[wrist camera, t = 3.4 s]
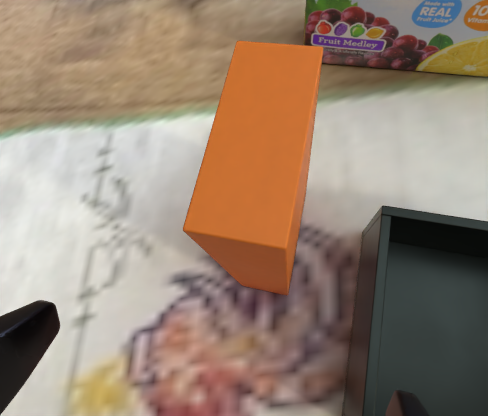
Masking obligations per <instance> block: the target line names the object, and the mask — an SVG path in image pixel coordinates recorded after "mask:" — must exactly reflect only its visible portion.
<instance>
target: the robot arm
mask: <svg viewBox="0 0 488 416" xmlns="http://www.w3.org/2000/svg"><path fill="white" fill-rule="evenodd" d="M59 329H60V321H59V317H58V313H57V309H56V306H55V304H54V303H52V302H48V301H44V300H39V301H36V302H33V303H31V304H28V305H26V306H24V307H21V308H19V309H17V310H14V311H12V312H10V313H7V314H5V315H2V316H0V415H1V413H2V412H3V411H4V410H5V408H6V407H7V406H8V405H9V403H10V402H11V401H12V399H13V398H14V397H15V396H16V394H17V393H18V392H19V390H20V389H21V388H22V386H23V385H24V384H25V382H26V381H27V379H28V378H29V376H30V375H31V373H32V372H33V370H34V369H35V367H36V366H37V364H38V363H39V361H40V360H41V358H42V357H43V355H44V354H45V352H46V350H47V349H48V347H49V346H50V344H51V343H52V341H53V340H54V338H55V337H56V335H57V334H58V332H59ZM385 416H430V415H429V414H428V412H427V411H426V409H425V408H424V406H423V405H422V403H421V402H420V400H419V399H418V397H417V396H416V395H414V394H413V393H410V392H406V391H402V390H396V391H394V393H393V395H392V398H391V400H390V403H389V405H388V408H387V410H386V414H385Z"/></svg>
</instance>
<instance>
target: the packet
mask: <svg viewBox="0 0 488 416" xmlns="http://www.w3.org/2000/svg"><path fill="white" fill-rule="evenodd" d="M322 56H323V47H319V46H305V45H290V44H276V43H262V42H247V41H237V42H236V46H235V49H234V53H233V56H232V60H231V63H230V67H229V70H228V74H227V77H226V81H225V84H224V88H223V91H222V94H221V98H220V101H219V105H218V108H217V112H216V115H215V119H214V122H213V126H212V129H211V133H210V136H209V140H208V143H207V147H206V150H205V154H204V157H203V161H202V164H201V167H200V171H199V174H198V178H197V181H196V185H195V188H194V192H193V195H192V199H191V202H190V206H189V209H188V213H187V216H186V220H185V223H184V227H183V231H184V232H185V233H186V234H187V235H189V236H190V237H191V238H192V239H193V240H194V241H195V242H196V243H197V244H198V245H199V246H200V247H201V248H202V249H204V250H205V251H206V252H207V253H208V254H209V255H210V256H211V257H212V258H213V259H214V260H215V261H216V262H218V263H219V264H220V265H221V266H222V267H223V268H224V269H225V270H226V271H227V272H228V273H229V274H230V275H231V276H233V277H234V278H235V279H236V280H237V281H238V282H239V283H240V284H241V285H242V286H245V287H250V288H255V289H259V290H264V291H269V292H273V293H278V294H283V295H288V293H289V287H290V282H291V276H292V270H293V264H294V259H295V253H296V247H297V241H298V236H299V230H300V224H301V218H302V213H303V207H304V201H305V195H306V187H307V179H308V171H309V163H310V155H311V146H312V138H313V130H314V122H315V113H316V105H317V97H318V89H319V81H320V72H321V64H322Z"/></svg>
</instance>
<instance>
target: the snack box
mask: <svg viewBox="0 0 488 416" xmlns="http://www.w3.org/2000/svg"><path fill="white" fill-rule="evenodd" d="M304 45H305V46H319V47H323V56H322V63H327V64H339V65H351V66H353V65H354V66H364V67H376V68H389V69H400V70H415V71H425V72H436V73H448V74H461V75H472V76H483V77H488V0H306V10H305V26H304Z"/></svg>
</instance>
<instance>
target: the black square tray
mask: <svg viewBox="0 0 488 416" xmlns="http://www.w3.org/2000/svg"><path fill="white" fill-rule="evenodd" d="M396 390H402V391H406V392H410V393H413V394H414V395H416V396H417V397H418V399H419V400H420V402H421V403H422V405H423V406H424V408H425V409H426V411H427V412H428V414H429V415H430V416H488V222H487V221H480V220H474V219H467V218H461V217H454V216H448V215H441V214H435V213H428V212H422V211H415V210H409V209H402V208H396V207H389V206H382V207H381V208H380V209H379V211H378V212H377V213H376V215H375V216H374V217H373V219H372V220H371V221H370V223H369V224H368V225H367V227H366V228H365V229H364V231H363V232H362V241H361V250H360V258H359V267H358V276H357V285H356V294H355V303H354V312H353V321H352V330H351V339H350V347H349V356H348V365H347V374H346V383H345V392H344V401H343V410H342V416H385V414H386V410H387V408H388V405H389V403H390V400H391V398H392V395H393V393H394V391H396Z"/></svg>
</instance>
